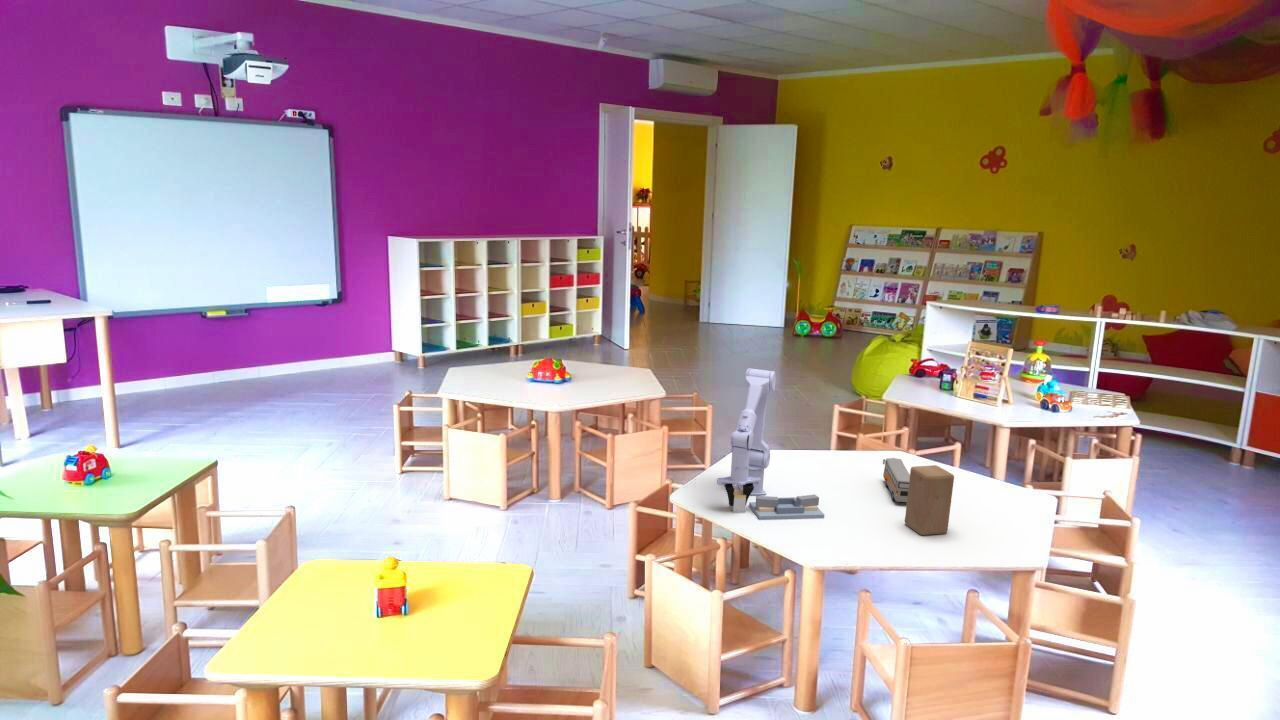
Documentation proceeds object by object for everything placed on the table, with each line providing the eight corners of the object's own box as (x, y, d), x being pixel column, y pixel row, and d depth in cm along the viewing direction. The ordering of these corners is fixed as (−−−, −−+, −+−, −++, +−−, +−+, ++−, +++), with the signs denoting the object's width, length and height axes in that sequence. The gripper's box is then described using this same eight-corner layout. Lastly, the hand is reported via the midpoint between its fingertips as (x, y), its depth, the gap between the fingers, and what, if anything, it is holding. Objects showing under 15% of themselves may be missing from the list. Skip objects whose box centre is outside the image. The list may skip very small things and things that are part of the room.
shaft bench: (749, 505, 285) (750, 491, 284) (811, 504, 289) (812, 489, 288) (759, 519, 274) (760, 504, 273) (824, 517, 277) (825, 503, 276)
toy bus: (899, 481, 315) (902, 456, 312) (913, 507, 290) (916, 480, 288) (880, 480, 315) (883, 455, 313) (893, 506, 290) (896, 478, 288)
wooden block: (920, 536, 266) (927, 476, 262) (903, 524, 275) (909, 465, 271) (948, 534, 268) (955, 474, 264) (929, 521, 278) (936, 464, 274)
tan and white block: (729, 506, 284) (730, 489, 282) (740, 506, 284) (741, 489, 283) (733, 512, 279) (734, 495, 278) (744, 512, 280) (746, 495, 278)
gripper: (721, 470, 273) (719, 510, 276) (764, 469, 276) (761, 508, 279) (716, 463, 280) (713, 501, 283) (758, 462, 283) (755, 500, 285)
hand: (737, 504), depth 281 cm, fingers closed on tan and white block, 4 cm apart
